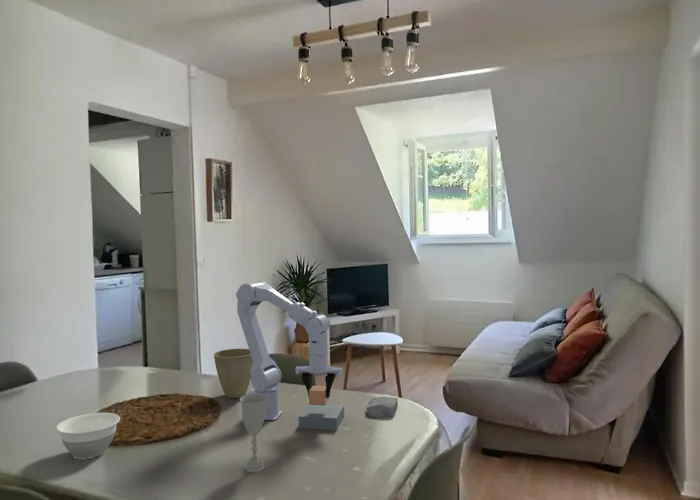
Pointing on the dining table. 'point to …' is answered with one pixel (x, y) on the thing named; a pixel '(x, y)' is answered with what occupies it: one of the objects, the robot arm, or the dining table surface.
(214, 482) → the dining table surface
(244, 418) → the chalice
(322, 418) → the slate box
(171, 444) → the dining table surface
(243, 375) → the plant pot
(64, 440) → the bowl
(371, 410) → the stone block
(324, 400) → the terracotta block
